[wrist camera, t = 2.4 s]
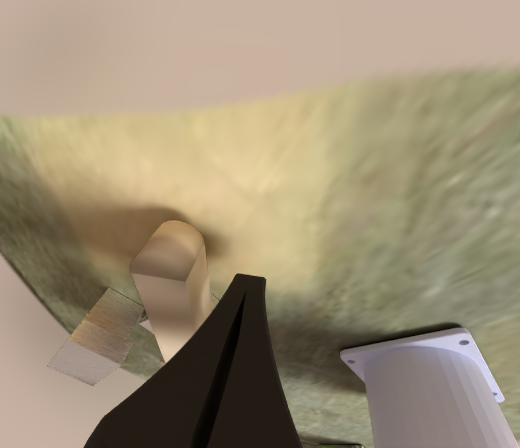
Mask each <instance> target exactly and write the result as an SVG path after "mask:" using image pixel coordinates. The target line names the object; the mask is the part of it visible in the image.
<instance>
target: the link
mask: <svg viewBox="0 0 520 448" xmlns="http://www.w3.org/2000/svg"><path fill="white" fill-rule="evenodd" d="M130 271H131V274H132V277H133V280H134V282H135V285H136V287H137V290H138V293H139V295H140V298H141V301H142V303H143V306H144V308H145V311H146V314H147V316H148V319H149V321H150V324H151V327H152V329H153V332H154V335H155V337H156V340H157V342H158V345H159V348H160V350H161V353H162V355H163V357H162V359H161V361H160V363H161V365H162V367H163V366H164V365H165V364H166V363H167V362H168V361H169V360H170V359H171V358H172V357H173V356H174V355H175V354H176V353H177V352H178V351H179V350H180V349H181V348H182V347H183V346H184V344H185V343H186V342H187V341H188V340H189V339H190V338H191V337H192V336H193V334H194V333H195V332H196V331H197V330H198V329H199V327H200V326H201V325H202V324H203V322H204V321H205V320H206V319H207V317H208V316H209V315H210V314H211V312H212V302H211V293H210V285H209V276H208V268H207V259H206V250H205V243H204V239H203V237H202V235H201V234H200V233H199V232H198V231H197V230H196V229H195V228H194V227H193V226H191V225H189V224H187V223H185V222H182V221H176V220H171V221H166V222H164V223H162V224H161V225H160V226H159V228H158V229H157V230H156V231H155V233H154V234H153V235H152V237H151V238H150V239H149V240H148V242H147V243H146V244H145V246H144V247H143V248H142V249H141V251H140V252H139V253H138V255H137V256H136V257H135V258H134V260H133V261H132V262H131V265H130Z"/></svg>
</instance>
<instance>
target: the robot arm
mask: <svg viewBox="0 0 520 448" xmlns="http://www.w3.org/2000/svg"><path fill="white" fill-rule="evenodd" d="M265 288H266V279H265V278H264V277H258V276H252V275H245V274H239V273H238V274H236V275H235V277H234V279H233V281H232V282H231V284H230V286H229V287H228V289H227V291H226V292H225V294H224V295H223V297H222V298H221V300H220V301H219V302H218V304H217V305H216V307H215V308H214V309H213V311H212V312H211V314H210V315H209V316H208V317H207V319H206V320H205V321H204V322H203V324H202V325H201V326H200V327H199V329H198V330H197V331H196V332H195V333H194V334H193V336H192V337H191V338H190V339H189V340H188V341H187V342H186V343H185V344H184V346H183V347H182V348H181V349H180V350H179V351H178V352H177V353H176V354H175V355H174V356H173V357H172V358H171V359H170V360H169V361H168V362H167V363H166V364H165V365H164V366H163V367H162V368H161V369H160V370H159V371H157V372H156V373H155V374H154V375H153V376H152V377H151V378H150V379H148V380H147V381H146V382H145V383H144V384H143V385H142V386H141V387H140V388H138V389H137V390H136V391H135V392H134V393H132V394H131V395H130V396H129V397H128V398H126V399H125V400H124V401H123V402H121V403H120V404H119V405H118V406H117V407H115V408H114V409H113V410H111V411H110V412H109V413H108V414H107V415H105V416H104V417H103V418H102V420H101V421H100V422H99V424H98V425H97V427H96V428H95V430H94V431H93V433H92V434H91V436H90V437H89V439H88V440H87V442H86V444H85V446H84V448H303V447H302V445H301V442H300V439H299V437H298V434H297V431H296V428H295V426H294V423H293V420H292V417H291V414H290V411H289V408H288V405H287V401H286V398H285V395H284V392H283V389H282V385H281V382H280V378H279V375H278V371H277V367H276V363H275V359H274V355H273V350H272V346H271V340H270V335H269V329H268V323H267V315H266V305H265ZM340 358H341V359H342V360H343V361H344V362H345V363H346V364H347V365H348V367H349V368H350V369H351V370H352V371H353V372H354V373H355V374H356V375H357V376H358V377H359V378H360V379H361V380H362V381H363V382H364V383H365V386H366V393H367V399H368V406H369V413H370V420H371V426H372V433H373V440H374V447H375V448H519V446H518V444H517V442H516V440H515V438H514V436H513V433H512V431H511V429H510V427H509V425H508V423H507V421H506V419H505V417H504V415H503V413H502V411H501V409H500V407H499V405H498V403H500V402H503V401H504V400H505V399H504V397H503V395H502V393H501V391H500V389H499V387H498V385H497V383H496V381H495V380H494V378H493V376H492V374H491V372H490V370H489V368H488V366H487V364H486V363H485V361H484V359H483V357H482V355H481V353H480V351H479V349H478V347H477V346H476V344H475V342H474V340H473V338H472V336H471V334H470V332H469V331H468V330H467V329H465V328H453V329H448V330H443V331H438V332H433V333H428V334H423V335H417V336H412V337H407V338H402V339H397V340H392V341H387V342H382V343H376V344H371V345H366V346H361V347H356V348H351V349H346V350H342V351H341V352H340Z"/></svg>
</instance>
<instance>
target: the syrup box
mask: <svg viewBox="0 0 520 448" xmlns="http://www.w3.org/2000/svg"><path fill="white" fill-rule="evenodd" d="M318 448H364V447H363V446H362V445H361V446H360V445H319V446H318Z"/></svg>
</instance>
